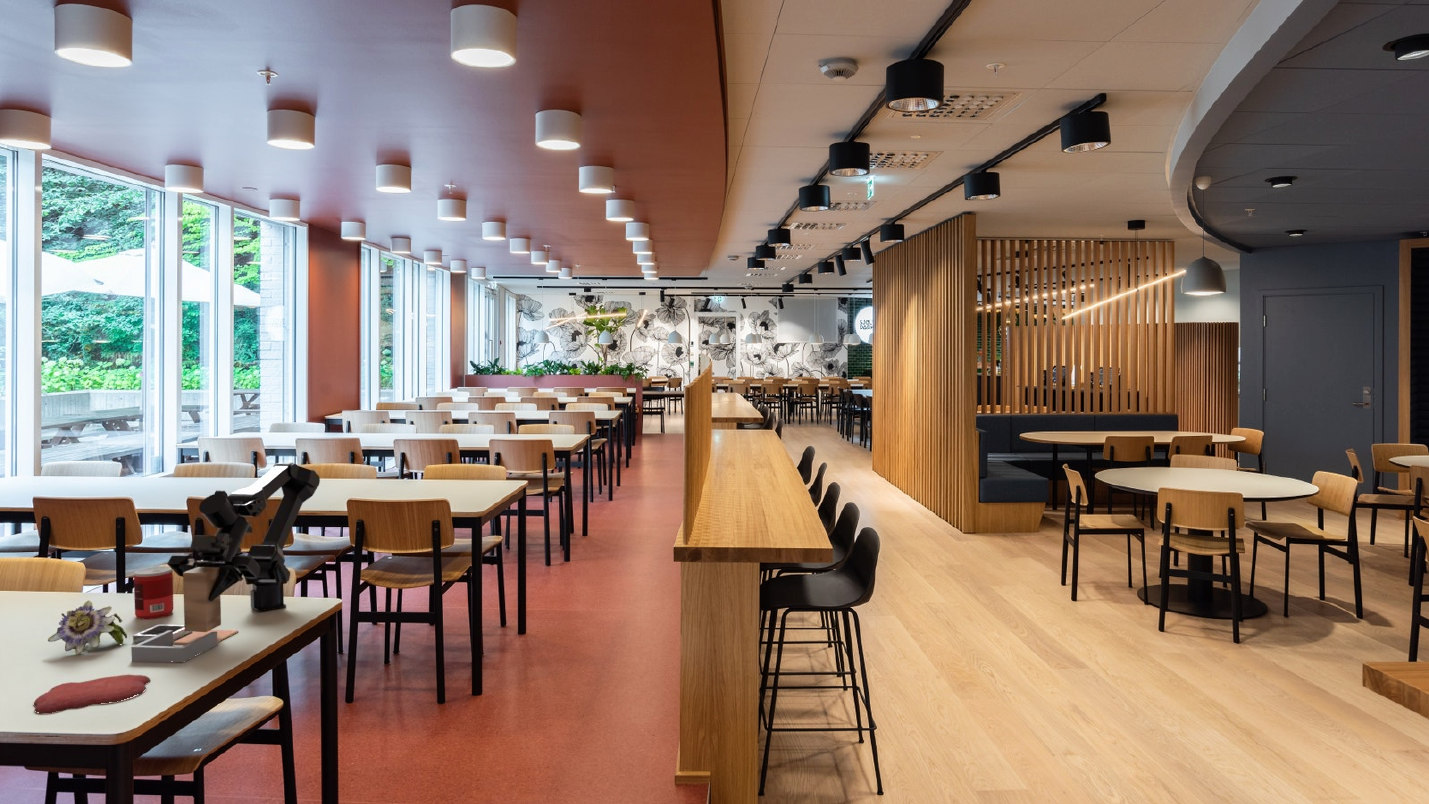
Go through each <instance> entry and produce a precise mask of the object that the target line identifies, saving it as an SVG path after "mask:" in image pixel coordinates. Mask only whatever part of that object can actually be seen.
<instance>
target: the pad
mask: <svg viewBox="0 0 1429 804" xmlns="http://www.w3.org/2000/svg"><path fill="white" fill-rule="evenodd" d="M211 632H217V644H218V643H219V642H222V641H224V640H226V639H227V638H226V637H228V636H230V637H231V636H234V635H236V634H238V633H239V630H237V629H235V630H233V629H231V630H229V629H212V630H210V631H208V632H191V633H189V634H187V635H185V636H182V637H180V638H178V639H176V640H174V641H173V644H172V645H186V644H188V643H190V642H192V641H194V640H196V639H198V638H200V637H202V636H204V635H206V634H208V633H211ZM237 632H238V633H237ZM235 633H236V634H235ZM233 634H234V635H233ZM225 638H226V639H225ZM228 638H229V637H228ZM223 639H224V640H223ZM221 640H222V641H221Z"/></svg>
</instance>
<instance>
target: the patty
mask: <svg viewBox="0 0 1429 804" xmlns="http://www.w3.org/2000/svg"><path fill="white" fill-rule="evenodd" d="M149 681H150V682H151V679H150V677H148V676H147V675H143V674H138V675H137V674H121V675H115V676H114V675H113V676H106V677H101V678H95V679H90V680H85V681H81V682H74V681H73V682H66V683H61V684H59V685H56V686H54V687H52V688H50V689H49V691H46V692H45V693H43V694H41V695H40V696H38V697H37V698H36V699H35V700H34V701H33V703H34V705H35V706H36V707H35V706H34V705H33V706H34V707H35V708H34V712H35V711H36V712H39V713H49V714H53V713H52V712H56V711H60V712H63V711H66V710H72V709H81V708H85V706H86V707H88V705H89V706H93V705H92V704H101V703H109V702H117V701H121V700H124V699H127V698H130V697H133V696H134V695H137V694H141V693H142V692H143V691H144V690H145V689H146V690H147V687H146V685H147V684H146V683H148V682H149ZM150 682H149V683H150ZM149 683H148V684H149ZM145 684H146V685H145ZM141 695H142V694H141ZM117 703H118V702H117ZM101 705H102V704H101ZM56 713H57V712H56Z"/></svg>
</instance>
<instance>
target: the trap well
mask: <svg viewBox="0 0 1429 804" xmlns="http://www.w3.org/2000/svg"><path fill="white" fill-rule="evenodd" d="M168 630H173V640H174V641H176V640H178V639H180V638H182V637H185V636H187V635H189V634H191V633H192V632H191V631H185V627H184V624H163V623H162V624H160V623H158V624H157V625H154V626H152V627H149V628H147V629H144V630H142V631H140V632H137V633H136V634H134V635H132V641H133V642H132V643H141V642H144V641H146V640H148V639H150V638H152V637H155V636H157V635H159V634H161V633H164V632H166V631H168ZM190 632H191V633H190ZM188 633H189V634H188ZM186 634H187V635H186ZM184 635H185V636H184ZM181 636H182V637H181ZM179 637H180V638H179ZM177 638H178V639H177ZM175 639H176V640H175Z"/></svg>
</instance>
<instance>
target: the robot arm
mask: <svg viewBox="0 0 1429 804" xmlns="http://www.w3.org/2000/svg"><path fill="white" fill-rule="evenodd" d="M320 483H321V479H320V476H319V474H318V473H317V472H316V470H313V469H310V468H306V467H302V466H300V465H299V464H297V463H294V462H277V463H275V464H273V466H272V468H271V469H270V470H269V471H268V472H266V473H265V474H264V475H262V476H261V477H260V478H259V479H258V480H256V481H255V482H254V483H253V484H251V485H250V486H247V487H244V488H240V489H239V488H238V489H237V490H235V491H233V492H231V493H230V494H229V495H228V494H227V491H225V490H215V492H214V494H211V495H209V496H207V497H206V498H204V499H203V500H202V501H201V502H200V503H199V506H198V509H199V512H200V513H201V514H202V515H203V516H204V517H205V518H206V520H207V522H209V524H210V525H212V527H214V528H216V529H217V530H216V532H215V534H214V535H210V534H209V535H206V534H205V535H201V534H200V535H199V534H197V535H196V534H194V535H193V536H192V539H191V542H190V543H191V544H190V547H189V550H190V551H196V552H198V553H197V555H198V557H199V558H202V560H198V559H195V558H194V557H193V556H192V555H191V554H188V553H187V554H185V553H184V554H183V553H181V554H179V553H176V554H173V555H170V556H171V557H170V558H169V560H168V562H167V566H168V567H171V568H172V570H173V572H174V573H175V574H177V576H179V577H181V578H183V572H186V571H189V570H191V569H194V568H197V567H218V568H219V576H218V578H217V580H216V582H215V584H214V586H213V588H212V590H211V592H210V595H209V598H208V599H209V600H210V601H213V600H214V599H215V598H217V597H218V596H219V595H220V596H221V595H222V594H223V593H224V592H226V590H228V589H230V588H231V587H232V586H233V585H236V584H237V583H238V582H242V581H244V580H245V584H246V585H248V586H249V585H252V589H251V590H250V608H252V609H253V610H254V611H256V612H259V613H261V612H266V611H272V610H277V609H283V608H286V607H287V604H286V603H285V602H284V599H285V597H284V596H285V594H284V585H285V584H288V582H289V581H290V578H291V571H290V570H289V568H287V566H286V565H285V556H284V552H283V550H284V547H285V545H286V543H287V540H288V537H289V535H290V533H291V531H292V529H293V525H294V523H295V521H296V519H297V517H298V514H299V512H300V510H301V508H302V505H303V503H305V502H306V501H307V500H309V499H310V498H311V497H313V496H314V495H315V492H316V491H317V489H318V488H319V486H320ZM280 489H281V492H282V494H283V496H282V498H281V500H280V503H279V505H278V508H277V509H276V511H275V515H274V517H273V518H272V521H271V522H270V525H269V527H268V530H267V532H266V534H265V536H264V539H263V541H262V542H261V543H260V544H252V545H251V546H249V550H248V552H247V555H242V554H241V552H242V551H243V550H242V548H241V547H240V546H241V543H242V542H243V540H244V537H245V535H246V534H252V533H253V532H254V531H253V526H252V525H251V521H249V520H247V519H246V517H247V518H252V517H253V518H256V517H258V516H260V515H261V514H262V513H263V512H264V510H265V509H266V507H267V506H268V505H267V500H268V499H270V498H271V496H273V495H274V494H275V493H276V492H277V491H279V490H280ZM236 554H239V555H236ZM240 554H241V555H240Z"/></svg>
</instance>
